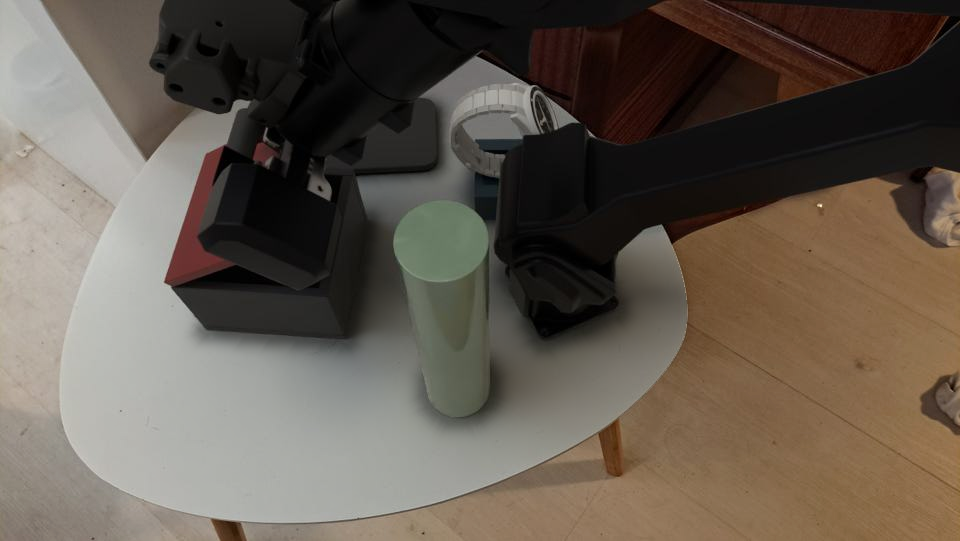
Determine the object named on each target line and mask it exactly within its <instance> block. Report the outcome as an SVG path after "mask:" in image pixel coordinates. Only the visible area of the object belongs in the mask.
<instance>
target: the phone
mask: <svg viewBox="0 0 960 541" xmlns="http://www.w3.org/2000/svg"><path fill="white" fill-rule="evenodd" d="M437 131H438V129H437V110H436V105H435V102H433V100H431V99H429V98H427V97H419V98H417V99H416V100H415V103H414V109H413V115H412V121H411V125H410V126H409V127H407V128H406V129H404V130H403V131H402V132H400V133H399V134H398V133H396V132H395V131H393V130H392V129H390V128H388V127H387V126H385V125H383V124H381V125H380V126H379V127H377V128H376V129H374V130H373V131H372V132H370V133H369V134H367V137H366V142H365V147H364V152H363V157H362V159H361V160H360V161H358V162H357V163H355V164H354V165H352V166H350V165H348V164H346V163H345V162H343V161H341V160H339V159H337V158H336V157H334V156H332V155H329V156H328V158H327V163H326V167H337V168H353V169H354V172H355V175H357V174H373V173H374V174H378V173H379V174H380V173H398V172H399V173H400V172H401V173H402V172H420V171H426V170H427V171H428V170H430V169H432V168H433V167H435V166H436V164H437V163H438V132H437Z"/></svg>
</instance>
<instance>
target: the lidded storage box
mask: <svg viewBox="0 0 960 541" xmlns="http://www.w3.org/2000/svg"><path fill="white" fill-rule="evenodd" d="M356 175H357V174H355V172H354V169H353V168H337V167H325V171H324V178H325V179H326V180H327V182H328V183H329V184H330V186H331V190H332V195H331V200H330V201H331V202H333V203H335V204H337V207H338V210H339V213H340V215H341V218H342V219H341V224H340V229H339V234H338V238H337V243H336V248H335V253H334V258H333V263H332V268H331V273H330V275H329V276H327V277H325V278H323V279H321V280H320V281H318V282H316V283H314V284H312V285H310V286H308V287H306V288H304V289H302V290H300V291H298V290H295V289H293V288H291V287H288V286H286V285H283V284H281V283H279V282H276V281H274V280H272V279H269V278H267V277H264V276H262V275H260V274H257V273H255V272H252V271H250V270H248V269H245V268H243V267H241V266H238V265H234V266H231V267H228V268H225V269H222V270H219V271H216V272H214V273H211V274H208V275H205V276H202V277H199V278H196V279H194V280H191V281H188V282H185V283H182V284H179V285H176V286H174V287H172V286H170V289H171V290H172V291H173V292H174V294H175V295H176V296H177V297H178V298H179V299H180V301H181V302H182V303H183V305H185V307H186V308H187V309H188V310H189V311H190V313H191V314H192V315H193V316H194V317H195V318H196V319H197V321H198V322H199V323H200V324H201V325H202V327H203V328H204V329H205V330H207V331H219V332H221V331H222V332H237V333H248V334H249V333H251V334H265V335H278V336H280V335H281V336H293V337H307V338H308V337H309V338H322V339H338V340H347V336H348V331H349V330H348V329H349V324H350V318H351V312H352V307H353V303H354V297H355V291H356V285H357V280H358V275H359V269H360V265H361V264H360V263H361V257H362V254H363V248H364V241H365V236H366V230H367V225H368V215H367V212H366V208H365V204H364V201H363V197H362V193H361V191H360V187H359V184H358V179H357V176H356ZM307 177H308V176H307V175H306V178H307Z"/></svg>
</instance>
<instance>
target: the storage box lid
mask: <svg viewBox="0 0 960 541" xmlns="http://www.w3.org/2000/svg"><path fill="white" fill-rule="evenodd" d="M248 111H249V108H248V107H243V108H239V109H237V111H236V113H235V117H234V120H233V123H232V126H231V130H230V132H229V135H228V139H227V141H226V143H225V144H223V145H221V146H219V147H216V148H215V149H213V150H211V151H209V152H207V153H205V154H204V157H203V161H202V163H201V166H200V170H199V173H198V177H197V178H196V182H195V185H194V188H193V191H192V194H191V198H190V201H189V204H188V206H187V208H186V209H187V210H186V212H185V216H184V219H183V221H182V225H181V228H180V231H179V234H178V237H177V240H176V243H175V247H174V250H173V252H172V256H171V259H170V262H169V265H168V268H167V271H166V274H165V277H164V280H163V283H164V284H165V285H167V286H170V287H171V286H172V287H174V286H176V285H179V284H182V283H185V282H188V281H191V280H194V279H196V278H199V277H202V276H205V275H208V274H211V273H214V272H216V271H219V270H222V269H225V268H228V267H231V266H234V265H236V264H233V263H231V262H229V261H226V260H224V259H221V258H219V257H217V256H214V255H212V254H210V253H207V252H205V251H204V249H203V248H202V246H201V244H200V242H199V240H198V238H197V233H198V230H199V226H200V223H201V220H202V217H203V214H204V210H205V207H206V204H207V201H208V198H209V195H210V191H211V189H212V182H213V179H214V176H215V172H216V169H217V166H218V163H219V160H220V156H221V153H222V150H223V147H224V146H227V147H229V148H231V149H233V150H235V151H237V152H239V153H241V154H242V155H244V156H246V157H248V158H250V159H252V160H254V161H257V160H259V161H261V162H262V163H263V164H264V166H265V162H266V160H268V159H269V158H270V157H271V156H275V157H276V158H279V154H280V150H281V149H280V150H279V149H274V148H272V147H271V146H269V145H267V144H266V143H265V142H264V140H263V137H264V133H265V130H266V127H265V126H263V125H261V124H259V123H258V122H256V121H254V120H252V119H250V118H249V117H247V115H248ZM283 138H284V137H283ZM258 140H260V141H261V142H262V143H259V144H257V143H258Z"/></svg>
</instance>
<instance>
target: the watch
mask: <svg viewBox="0 0 960 541" xmlns="http://www.w3.org/2000/svg"><path fill="white" fill-rule="evenodd" d="M502 113H503V114H508V115H509V114H510V119H511V121H512V122H513V124H515V125H516V127H517V128H518V131H519V133H520V135H521V138H475V139H473V138H472V137H471V136H470V134H468V132H467V131H466V129H465V127H463V125H464V124H465V123H466V122H468V121H470V120H473V119H475V118H477V117H478V116H479V117H480V116H485V115H489V114H502ZM558 128H560V127H559V124H558V120H557V117H556V114H555V111H554V108H553V106H552V104H551V102H550V100H549V98H548V96H547V95H546V94H545V92H544V90H542V89H541V87H539V86H538V85H535V84H533V85H531V86H528V85H525V84H522V83H519V82H512V83H506V84H505V83H496V84H490V85H484V86H480V87H478V88H475V89H472V90H471V91H469V92H467V93H466V94H465V95H463V96H462V97H461V98H459V100H457V102H456V103H455V104H454V106H453V108H452V110H451V114H450V123H449V130H448V131H449V132H448V142H449V147H450V149H451V151H452V153H453V154H454V155H455V157H456V158H457V159H458V160H459V162H460V163H461V164H462V165H463V166H464V167H466V168H467V169H468V170H469V171H471V172H472V173H473V174H474V194H473V195H474V211H475V212H476V213H477V214H478V215H479V216H480V217H481V218H482V220H496V211H497V200H498V188H499V176H500V167H501V164H502V162H503V160H504V158H505V157H506V153H507V152H508V151H509V150H511V149H512V148H514V147H516V146H518V145H520V144H523V136H524V135H535V134H542V133H547V132H551V131H554V130H556V129H558Z"/></svg>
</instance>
